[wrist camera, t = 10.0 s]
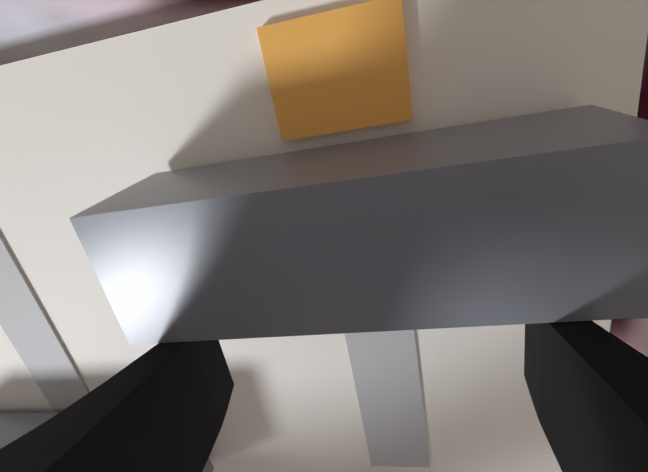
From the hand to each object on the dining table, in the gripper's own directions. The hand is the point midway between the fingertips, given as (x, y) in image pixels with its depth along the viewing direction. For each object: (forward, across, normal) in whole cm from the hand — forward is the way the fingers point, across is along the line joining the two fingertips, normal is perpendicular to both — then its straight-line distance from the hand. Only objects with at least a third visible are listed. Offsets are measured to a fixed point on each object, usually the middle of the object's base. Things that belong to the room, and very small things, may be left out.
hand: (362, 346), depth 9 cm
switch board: (+3, +6, +1) cm, 7 cm away
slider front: (+2, 0, -3) cm, 3 cm away
